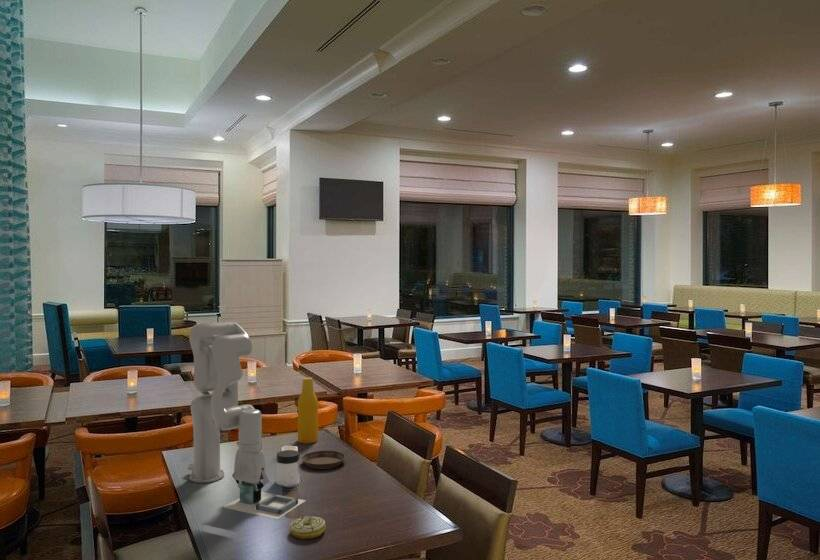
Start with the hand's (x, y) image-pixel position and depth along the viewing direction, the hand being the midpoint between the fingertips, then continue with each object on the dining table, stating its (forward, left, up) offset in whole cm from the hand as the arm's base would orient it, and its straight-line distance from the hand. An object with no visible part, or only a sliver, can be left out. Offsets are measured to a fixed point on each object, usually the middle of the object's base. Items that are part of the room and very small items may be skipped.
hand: (250, 499), depth 201 cm
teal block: (0, 0, -1) cm, 1 cm away
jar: (+1, +20, -2) cm, 20 cm away
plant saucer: (0, +46, -3) cm, 46 cm away
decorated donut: (+29, -9, -3) cm, 30 cm away
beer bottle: (-23, +69, -2) cm, 73 cm away
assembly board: (+6, 0, -2) cm, 6 cm away
